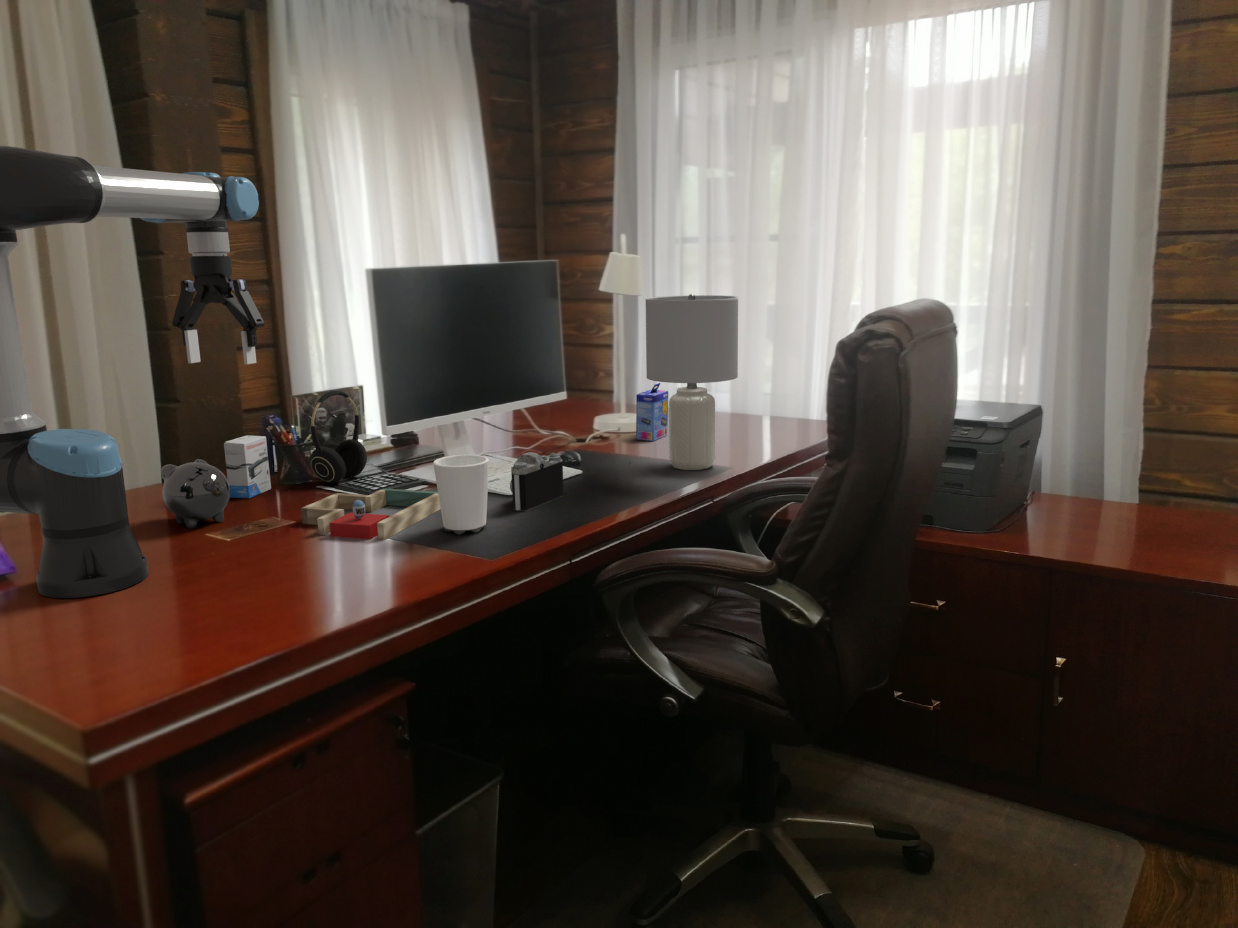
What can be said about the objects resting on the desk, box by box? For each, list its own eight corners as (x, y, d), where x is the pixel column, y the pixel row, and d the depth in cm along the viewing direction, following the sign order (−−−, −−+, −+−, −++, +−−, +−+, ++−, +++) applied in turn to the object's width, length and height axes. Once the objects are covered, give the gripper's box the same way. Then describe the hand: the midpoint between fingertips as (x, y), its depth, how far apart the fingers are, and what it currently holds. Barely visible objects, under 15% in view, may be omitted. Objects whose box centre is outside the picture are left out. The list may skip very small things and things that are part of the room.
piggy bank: (210, 509, 188) (203, 452, 185) (246, 522, 178) (240, 463, 175) (152, 521, 180) (144, 463, 177) (187, 536, 170) (179, 474, 167)
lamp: (753, 471, 211) (755, 294, 202) (670, 480, 204) (668, 297, 195) (711, 453, 229) (711, 291, 221) (634, 462, 222) (631, 294, 213)
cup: (433, 525, 174) (428, 457, 171) (485, 518, 177) (482, 452, 174) (442, 539, 165) (438, 468, 162) (498, 533, 168) (494, 463, 165)
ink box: (249, 499, 195) (243, 443, 193) (228, 498, 196) (221, 442, 194) (272, 489, 203) (266, 435, 201) (251, 488, 204) (245, 434, 202)
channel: (384, 539, 165) (383, 523, 165) (284, 531, 172) (282, 515, 171) (444, 507, 186) (443, 492, 185) (353, 500, 192) (352, 486, 191)
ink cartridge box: (654, 441, 245) (654, 386, 242) (635, 440, 247) (634, 385, 244) (669, 435, 254) (668, 381, 251) (650, 433, 256) (649, 380, 253)
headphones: (302, 486, 206) (293, 394, 201) (348, 471, 219) (340, 385, 214) (332, 489, 202) (324, 396, 198) (377, 474, 215) (370, 387, 211)
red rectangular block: (390, 529, 172) (387, 496, 171) (370, 540, 166) (368, 506, 165) (351, 527, 174) (348, 494, 173) (330, 538, 168) (327, 503, 167)
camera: (540, 491, 197) (538, 444, 195) (567, 495, 194) (566, 447, 191) (496, 508, 185) (494, 458, 182) (524, 512, 181) (522, 461, 179)
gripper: (275, 253, 185) (286, 361, 190) (172, 256, 193) (185, 360, 197) (250, 254, 178) (262, 366, 183) (144, 256, 186) (158, 364, 190)
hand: (222, 363), depth 190 cm, fingers open, 13 cm apart
